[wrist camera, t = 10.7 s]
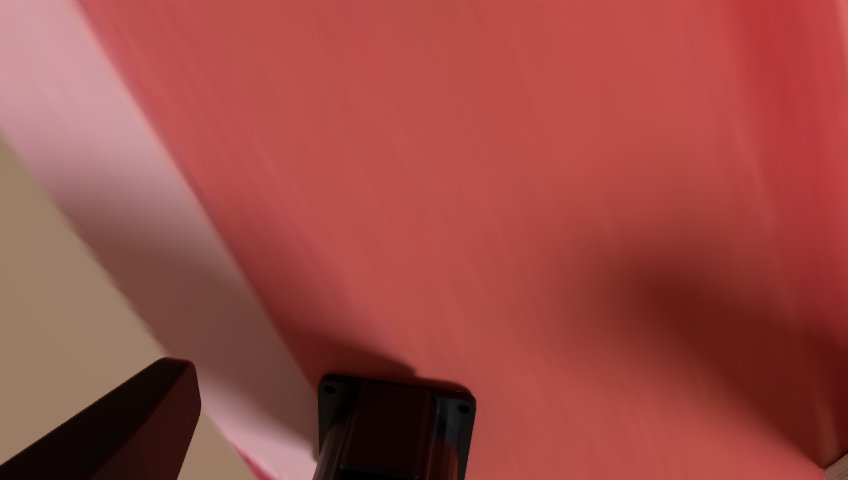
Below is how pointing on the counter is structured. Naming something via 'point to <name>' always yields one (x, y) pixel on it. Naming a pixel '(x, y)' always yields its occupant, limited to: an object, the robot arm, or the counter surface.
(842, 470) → the syrup box
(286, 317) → the counter surface
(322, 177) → the counter surface
